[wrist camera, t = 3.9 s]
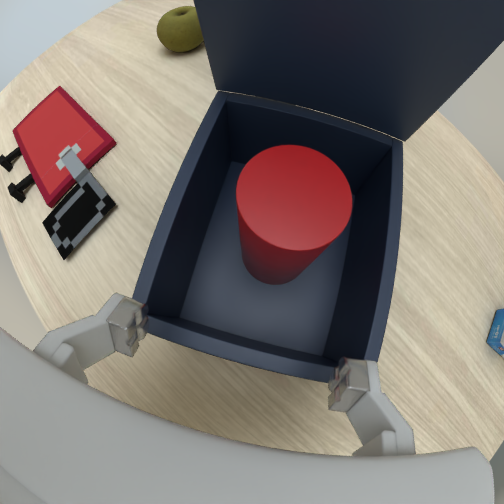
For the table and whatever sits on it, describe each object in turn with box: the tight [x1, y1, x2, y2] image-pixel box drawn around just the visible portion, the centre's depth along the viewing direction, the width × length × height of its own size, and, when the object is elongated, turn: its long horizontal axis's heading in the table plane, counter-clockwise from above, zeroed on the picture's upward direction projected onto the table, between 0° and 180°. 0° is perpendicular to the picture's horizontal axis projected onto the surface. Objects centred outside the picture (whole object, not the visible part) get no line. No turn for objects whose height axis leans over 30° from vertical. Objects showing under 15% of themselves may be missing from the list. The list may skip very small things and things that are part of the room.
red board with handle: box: [0, 86, 116, 260], centre depth 28 cm, size 30×3×15 cm
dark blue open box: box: [132, 91, 403, 383], centre depth 22 cm, size 18×15×10 cm
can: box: [236, 145, 352, 285], centre depth 20 cm, size 6×6×12 cm
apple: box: [157, 6, 204, 52], centre depth 31 cm, size 8×8×7 cm
